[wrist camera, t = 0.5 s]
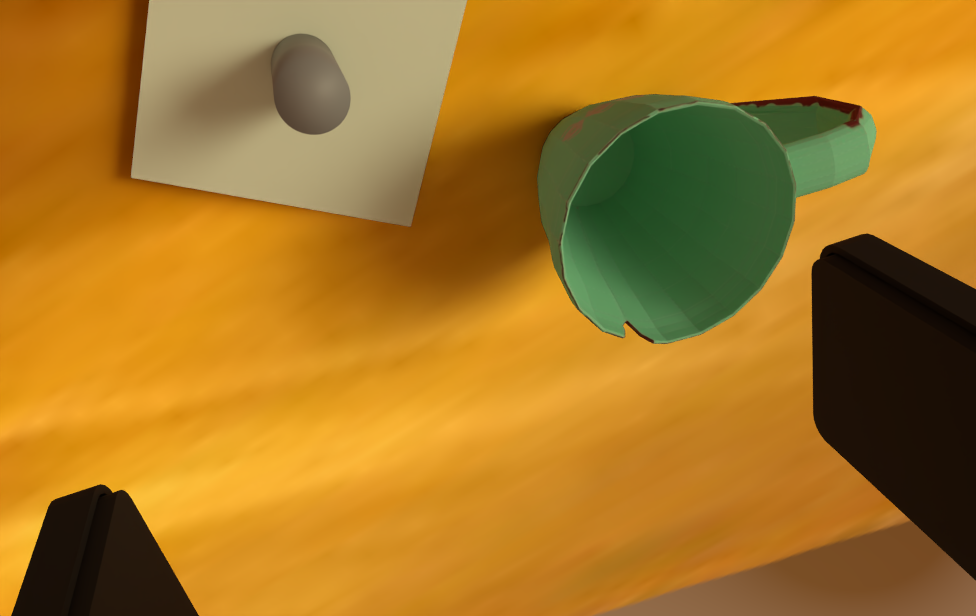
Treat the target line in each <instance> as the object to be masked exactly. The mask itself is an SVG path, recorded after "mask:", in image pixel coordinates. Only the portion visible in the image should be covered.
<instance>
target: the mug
mask: <svg viewBox="0 0 976 616" xmlns="http://www.w3.org/2000/svg"><path fill="white" fill-rule="evenodd" d="M875 139H876V127H875V124H874V121H873V118H872V116H871V114H869V113H868V112H867V111H866V110H865V109H864V108H862V107H861V106H859V105H854V104H850V103H845V102H840V101H836V100H831V99H826V98H822V97H817V96H809V97H798V98H786V99H775V100H763V101H752V102H740V103H728V102H725V101H720V100H713V99H706V98H698V97H690V96H674V95H658V94H651V95H635V96H630V97H625V98H620V99H615V100H611V101H606V102H601V103H597V104H592V105H588V106H587V107H585V108H583V109H581V110H579V111H577V112H575V113H573V114H571V115H570V116H568V117H566V118H564V119H563V120H561V121H560V122H559V123H558V124H557V125H556V126H555V128H554V129H553V130H552V131H551V132H550V134H549V135H548V137H547V139H546V141H545V143H544V145H543V148H542V153H541V159H540V164H539V169H538V175H537V184H538V197H539V206H540V214H541V222H542V225H543V227H544V230H545V232H546V235H547V238H548V240H549V244H550V250H551V255H552V260H553V264H554V268H555V270H556V272H557V274H558V276H559V278H560V280H561V282H562V284H563V286H564V288H565V290H566V292H567V294H568V296H569V298H570V299H571V301H572V303H573V304H574V306H575V307H576V308H577V309H578V310H579V311H580V312H581V313H582V314H583V315H584V316H585V317H586V318H588V319H589V320H590V321H591V322H592V323H593V324H594V325H595V326H597V327H598V328H599V329H600V330H601V331H602V332H605V333H608V334H611V335H614V336H617V337H620V338H625V329H624V327H623V325H624V323H626V324H627V325H628V326H630V327H631V328H632V329H633V330H634V331H635V332H636V333H637V334H638V335H639V336H640V337H642V338H644V339H646V340H647V341H649V342H651V343H653V344H668V343H672V342H675V341H679V340H683V339H687V338H690V337H694V336H698V335H701V334H703V333H705V332H706V331H708V330H710V329H712V328H713V327H715V326H717V325H719V324H720V323H722V322H724V321H726V320H727V319H729V318H731V317H733V316H734V315H735V314H736V313H737V312H738V311H739V310H740V309H741V308H742V307H743V306H744V305H746V304H747V303H748V302H749V301H750V300H751V299H752V298H753V297H754V296H755V295H756V294H757V293H758V292H759V291H760V290H761V289H762V288H763V286H764V285H765V283H766V282H767V280H768V278H769V277H770V275H771V274H772V272H773V271H774V269H775V268H776V266H777V265H778V263H779V262H780V260H781V258H782V257H783V254H784V251H785V248H786V245H787V242H788V239H789V236H790V233H791V230H792V227H793V224H794V221H795V203H796V198H797V197H800V196H803V195H807V194H810V193H813V192H817V191H820V190H823V189H827V188H830V187H833V186H835V185H837V184H840V183H842V182H845V181H847V180H850V179H852V178H855V177H857V176H860V175H862V174H864V173H865V172H866V171H867V169H868V167H869V161H870V157H871V153H872V150H873V146H874V143H875Z"/></svg>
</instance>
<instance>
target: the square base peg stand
mask: <svg viewBox="0 0 976 616" xmlns="http://www.w3.org/2000/svg"><path fill="white" fill-rule="evenodd" d="M466 2H467V0H149V8H148V18H147V27H146V37H145V46H144V56H143V65H142V75H141V84H140V94H139V104H138V113H137V123H136V132H135V142H134V151H133V161H132V171H131V178H136V179H142V180H147V181H153V182H159V183H164V184H170V185H176V186H181V187H187V188H193V189H198V190H204V191H210V192H215V193H221V194H227V195H232V196H238V197H244V198H249V199H255V200H261V201H266V202H272V203H278V204H283V205H289V206H295V207H300V208H306V209H312V210H317V211H323V212H329V213H334V214H340V215H346V216H351V217H357V218H363V219H368V220H374V221H380V222H385V223H391V224H397V225H402V226H408V227H411V224H412V220H413V216H414V212H415V208H416V204H417V200H418V196H419V192H420V188H421V184H422V180H423V176H424V172H425V168H426V164H427V160H428V155H429V151H430V147H431V143H432V139H433V135H434V131H435V127H436V123H437V119H438V115H439V111H440V107H441V103H442V99H443V95H444V91H445V87H446V83H447V79H448V75H449V71H450V67H451V63H452V59H453V55H454V51H455V47H456V43H457V39H458V35H459V31H460V27H461V23H462V19H463V14H464V10H465V6H466Z"/></svg>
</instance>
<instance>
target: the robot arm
mask: <svg viewBox="0 0 976 616" xmlns="http://www.w3.org/2000/svg"><path fill="white" fill-rule="evenodd" d="M812 345H813V415H814V421H815V424H816V427H817V429H818V431H819V433H820V434H821V436H822V437H823V439H824V440H825V441H826V442H827V443H828V444H829V445H830V446H831V447H833V448H834V449H835V450H836V451H837V452H838V453H839V454H840V455H841V456H842V457H843V458H844V459H845V460H847V461H848V462H849V463H850V464H851V465H852V466H853V467H854V468H855V469H856V470H857V471H858V472H859V473H861V474H862V475H863V476H864V477H865V478H866V479H867V480H868V481H869V482H870V483H871V484H872V485H873V486H875V487H876V488H877V489H878V490H879V491H880V492H881V493H882V494H883V495H884V496H885V497H886V498H887V499H889V500H890V501H891V502H892V503H893V504H894V505H895V506H896V507H897V508H898V509H899V510H900V511H901V512H903V513H904V514H905V515H906V516H907V517H908V518H909V519H910V520H911V521H912V522H914V524H915V525H917V526H918V527H919V528H920V529H921V530H922V531H923V532H924V533H925V534H926V535H927V536H928V537H930V538H931V539H932V540H933V541H934V542H935V543H936V544H937V545H938V546H939V547H940V548H941V549H942V550H943V551H945V552H946V553H947V554H948V555H949V556H950V557H951V558H952V559H953V560H954V561H955V562H956V563H957V564H959V565H960V566H961V567H962V568H963V569H964V570H965V571H966V572H967V573H968V574H969V575H970V576H972V577H973V578H974V579H975V580H976V289H974V288H972V287H971V286H969V285H967V284H965V283H963V282H961V281H959V280H957V279H955V278H953V277H952V276H950V275H948V274H946V273H944V272H942V271H940V270H938V269H936V268H934V267H933V266H931V265H929V264H927V263H925V262H923V261H921V260H919V259H917V258H915V257H914V256H912V255H910V254H908V253H906V252H904V251H902V250H900V249H898V248H896V247H894V246H893V245H891V244H889V243H887V242H885V241H883V240H881V239H879V238H877V237H875V236H873V235H870V234H861V235H858V236H855V237H852V238H849V239H846V240H843V241H840V242H837V243H834V244H831V245H828V246H826V247H825V248H824V249H823V250H822V252H821V255H820V259H819V260H817V261H816V262H814V264H813V266H812ZM11 616H199V615H198V613H197V612H196V610H195V608H194V607H193V605H192V603H191V601H190V600H189V598H188V596H187V594H186V593H185V591H184V589H183V587H182V586H181V584H180V582H179V580H178V579H177V577H176V575H175V573H174V572H173V570H172V568H171V567H170V565H169V563H168V561H167V560H166V558H165V556H164V554H163V553H162V551H161V549H160V547H159V546H158V544H157V542H156V540H155V539H154V537H153V535H152V534H151V532H150V530H149V528H148V527H147V525H146V523H145V521H144V520H143V518H142V516H141V514H140V513H139V511H138V509H137V507H136V506H135V504H134V502H133V501H132V499H131V497H130V496H129V494H128V493H127V492H125V491H123V490H120V491H117V492H114V493H112V491H111V490H110V489H109V488H108V487H107V486H105V485H101V484H100V485H97V486H94V487H91V488H88V489H85V490H82V491H79V492H76V493H73V494H70V495H67V496H64V497H60V498H57V499H55V500H53V501H52V502H51V503H50V505H49V507H48V510H47V513H46V516H45V519H44V521H43V524H42V527H41V530H40V533H39V536H38V539H37V542H36V545H35V548H34V551H33V554H32V557H31V560H30V563H29V566H28V568H27V571H26V574H25V577H24V580H23V583H22V586H21V589H20V592H19V595H18V598H17V601H16V604H15V607H14V610H13V612H12V615H11Z"/></svg>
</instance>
